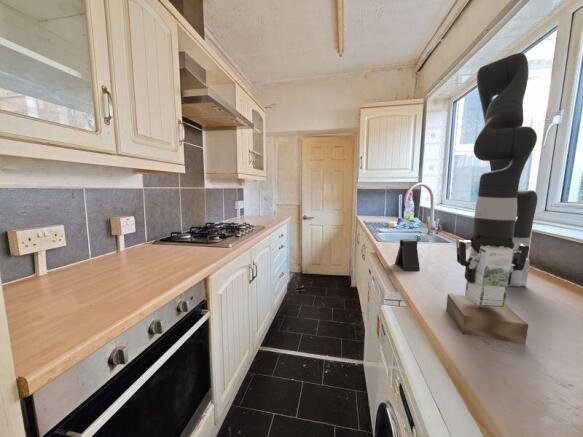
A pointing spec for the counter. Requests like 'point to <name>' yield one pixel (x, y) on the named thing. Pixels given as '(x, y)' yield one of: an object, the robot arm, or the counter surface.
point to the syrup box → (490, 276)
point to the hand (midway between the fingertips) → (486, 283)
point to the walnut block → (486, 320)
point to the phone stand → (408, 256)
